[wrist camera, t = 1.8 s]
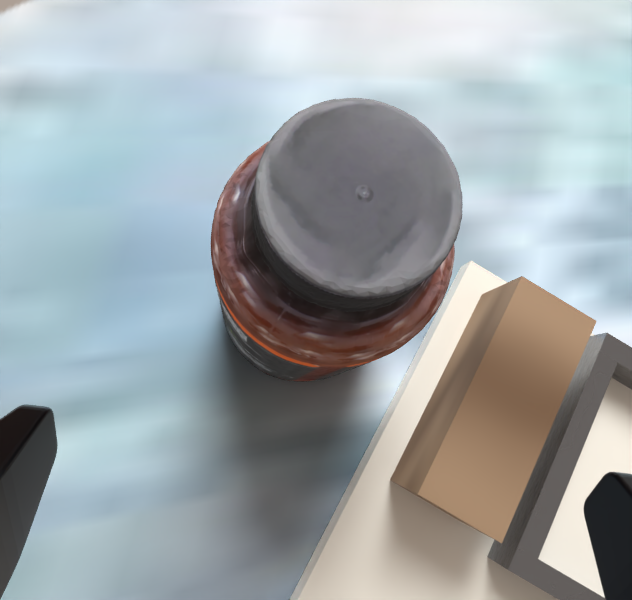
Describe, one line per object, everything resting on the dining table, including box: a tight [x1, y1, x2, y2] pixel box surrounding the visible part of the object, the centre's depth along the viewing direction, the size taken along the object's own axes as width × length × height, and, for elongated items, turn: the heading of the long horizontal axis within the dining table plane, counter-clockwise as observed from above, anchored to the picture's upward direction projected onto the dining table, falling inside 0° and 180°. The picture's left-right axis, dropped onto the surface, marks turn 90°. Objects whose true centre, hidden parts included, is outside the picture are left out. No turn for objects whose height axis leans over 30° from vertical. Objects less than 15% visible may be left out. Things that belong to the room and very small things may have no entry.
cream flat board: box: [289, 261, 632, 600], centre depth 19 cm, size 19×16×1 cm
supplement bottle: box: [211, 98, 462, 381], centre depth 15 cm, size 6×6×11 cm
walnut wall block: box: [390, 276, 596, 543], centre depth 18 cm, size 8×3×3 cm, turn 150°
